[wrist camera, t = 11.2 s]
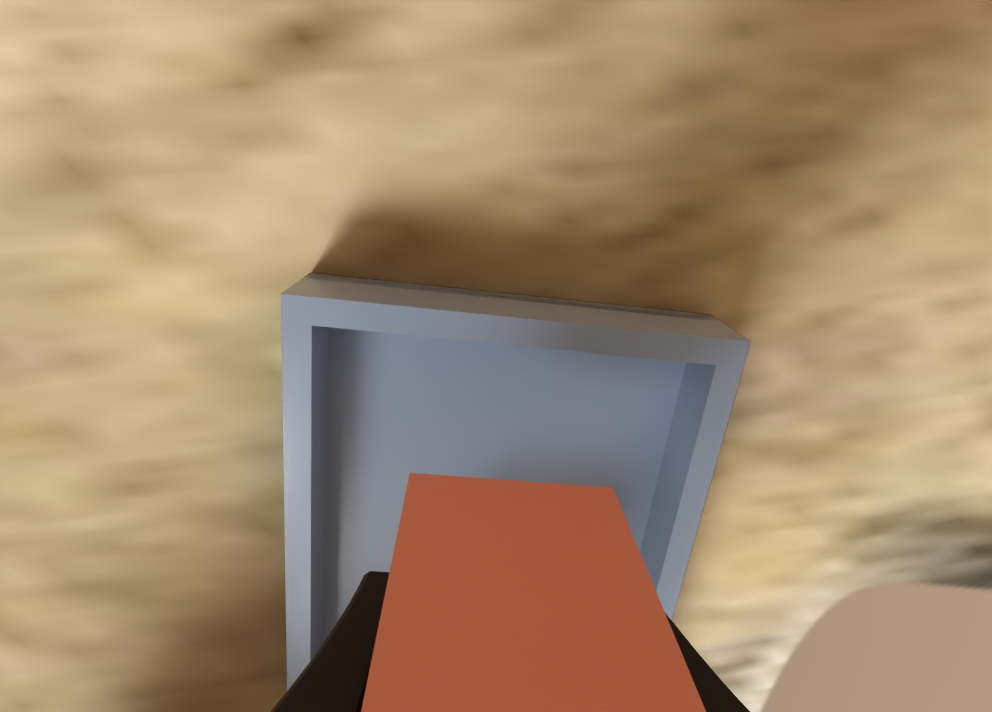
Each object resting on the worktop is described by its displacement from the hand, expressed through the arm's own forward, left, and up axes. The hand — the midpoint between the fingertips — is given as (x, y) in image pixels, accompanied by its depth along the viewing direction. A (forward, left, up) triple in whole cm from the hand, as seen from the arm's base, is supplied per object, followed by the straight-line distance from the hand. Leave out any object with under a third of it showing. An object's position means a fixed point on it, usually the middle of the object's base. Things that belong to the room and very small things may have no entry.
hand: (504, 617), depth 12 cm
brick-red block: (0, 0, -2) cm, 2 cm away
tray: (-4, 0, -8) cm, 9 cm away
